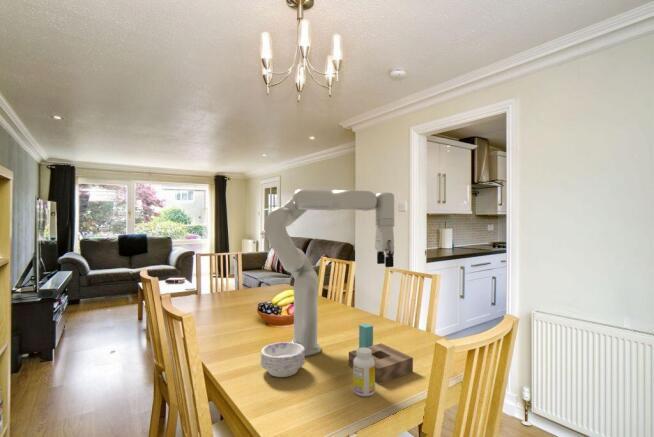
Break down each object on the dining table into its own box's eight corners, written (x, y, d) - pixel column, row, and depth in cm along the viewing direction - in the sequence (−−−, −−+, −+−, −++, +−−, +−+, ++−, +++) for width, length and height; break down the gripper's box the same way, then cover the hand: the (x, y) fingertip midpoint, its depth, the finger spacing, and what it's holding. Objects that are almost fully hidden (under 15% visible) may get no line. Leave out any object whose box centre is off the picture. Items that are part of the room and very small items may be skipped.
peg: (365, 352, 132) (365, 327, 132) (359, 349, 136) (359, 324, 136) (372, 350, 135) (373, 325, 135) (366, 347, 138) (366, 323, 138)
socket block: (378, 384, 107) (378, 368, 107) (348, 365, 120) (348, 352, 120) (412, 372, 116) (412, 357, 116) (381, 356, 129) (381, 343, 129)
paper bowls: (283, 358, 126) (283, 337, 126) (313, 370, 117) (313, 347, 117) (251, 372, 115) (251, 349, 115) (281, 386, 105) (281, 361, 105)
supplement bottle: (372, 386, 106) (373, 346, 106) (376, 397, 99) (376, 354, 99) (351, 386, 105) (352, 346, 105) (354, 397, 99) (354, 354, 99)
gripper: (369, 223, 142) (369, 262, 142) (383, 223, 125) (383, 268, 125) (386, 222, 143) (386, 262, 143) (402, 223, 126) (402, 268, 126)
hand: (385, 265), depth 134 cm, fingers open, 9 cm apart
